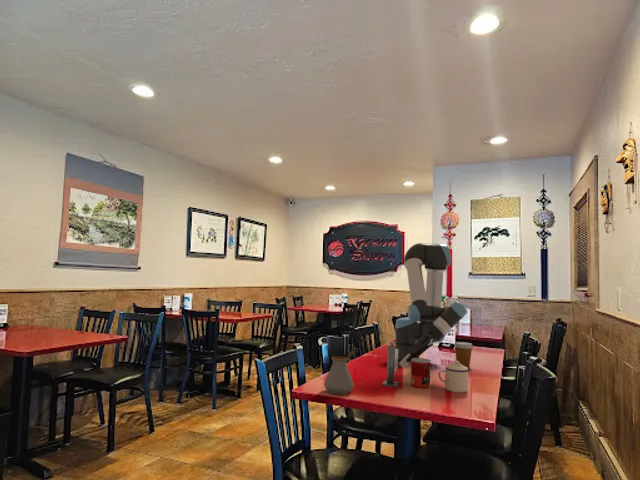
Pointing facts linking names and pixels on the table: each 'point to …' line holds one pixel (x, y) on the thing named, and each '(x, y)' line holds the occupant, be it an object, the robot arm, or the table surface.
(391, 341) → the swing panel
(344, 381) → the coffee pot
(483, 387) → the table surface
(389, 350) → the post
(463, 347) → the disposable coffee cup
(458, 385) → the teacup with lid
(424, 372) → the canned food
